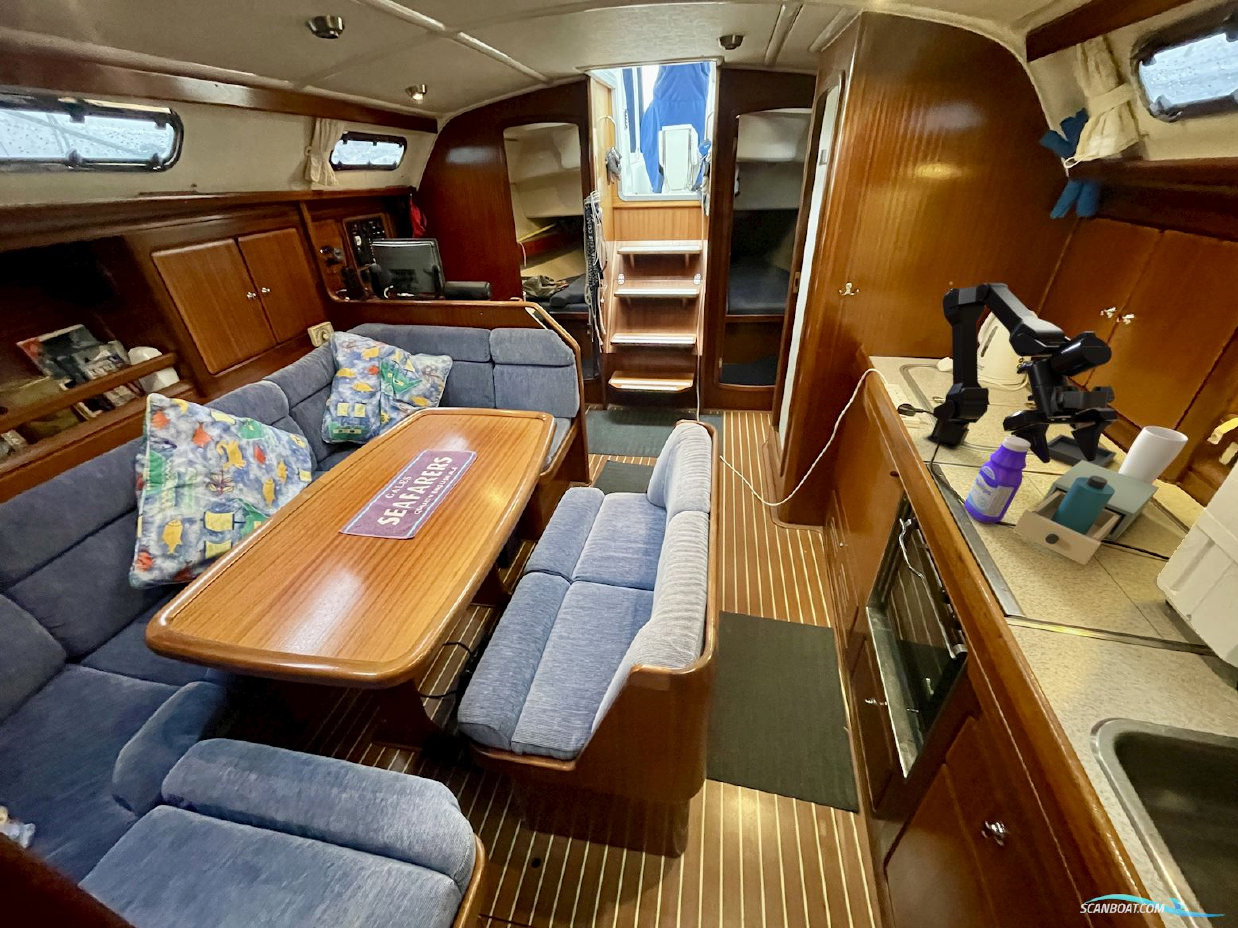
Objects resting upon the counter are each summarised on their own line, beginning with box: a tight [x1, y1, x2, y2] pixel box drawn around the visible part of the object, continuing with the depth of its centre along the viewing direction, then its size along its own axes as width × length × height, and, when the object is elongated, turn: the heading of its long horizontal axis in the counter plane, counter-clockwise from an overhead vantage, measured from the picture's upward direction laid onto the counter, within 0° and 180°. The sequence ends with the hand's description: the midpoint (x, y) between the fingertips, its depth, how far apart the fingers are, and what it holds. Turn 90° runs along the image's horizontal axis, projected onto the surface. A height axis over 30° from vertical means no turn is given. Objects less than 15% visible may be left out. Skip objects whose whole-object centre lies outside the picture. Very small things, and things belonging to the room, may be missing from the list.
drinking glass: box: [1117, 425, 1189, 485], centre depth 103 cm, size 7×7×15 cm
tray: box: [1047, 433, 1118, 468], centre depth 119 cm, size 11×11×2 cm
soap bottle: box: [1051, 476, 1115, 535], centre depth 91 cm, size 6×6×11 cm
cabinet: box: [1041, 460, 1160, 541], centre depth 99 cm, size 16×13×7 cm
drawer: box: [1012, 490, 1121, 566], centre depth 92 cm, size 16×11×5 cm
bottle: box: [964, 435, 1031, 524], centre depth 95 cm, size 7×6×17 cm
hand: (1069, 462), depth 93 cm, fingers open, 9 cm apart
